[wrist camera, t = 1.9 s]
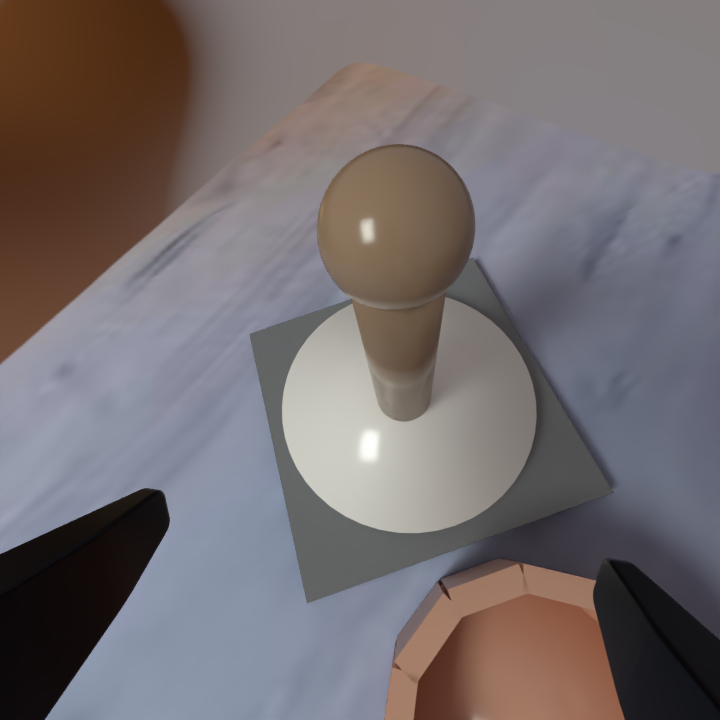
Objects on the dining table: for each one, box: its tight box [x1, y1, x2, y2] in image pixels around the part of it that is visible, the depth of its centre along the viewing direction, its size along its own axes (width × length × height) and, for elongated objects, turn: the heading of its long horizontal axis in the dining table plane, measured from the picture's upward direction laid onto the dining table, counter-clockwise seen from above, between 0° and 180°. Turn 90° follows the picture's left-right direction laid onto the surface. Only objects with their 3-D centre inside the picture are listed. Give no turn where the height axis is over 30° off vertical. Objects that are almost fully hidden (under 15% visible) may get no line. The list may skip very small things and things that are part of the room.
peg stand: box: [282, 144, 537, 533], centre depth 15 cm, size 14×14×16 cm
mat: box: [250, 258, 614, 603], centre depth 22 cm, size 16×16×1 cm
